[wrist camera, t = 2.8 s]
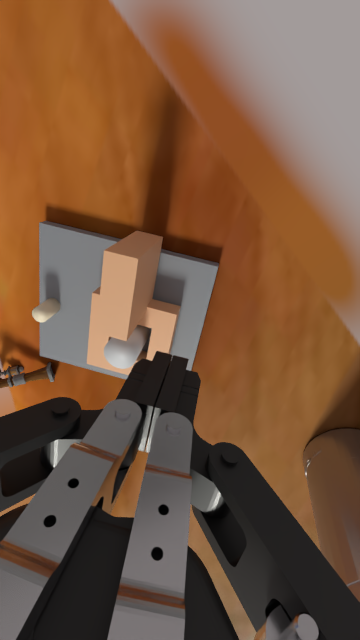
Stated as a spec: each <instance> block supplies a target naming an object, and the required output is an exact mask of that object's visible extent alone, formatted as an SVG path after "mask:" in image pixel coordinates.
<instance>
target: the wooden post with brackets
mask: <svg viewBox="0 0 360 640" xmlns="http://www.w3.org/2000/svg"><path fill="white" fill-rule="evenodd" d="M50 364H51V362H48V365H47V366H46V367H44V368H41V369H39V370H36V371H33V372H30V373H26V374H25V373H22V374H20V372H22V371H23V370H24V368H23V367H19V366H18V365H17V366H14V367H10V366H9V367H8V369H7V370H6V371H5V370H4V372H1V370H0V376H1V374H2V375H3V374H4V375H6V374H8V375H9V377H8V378H6V379H2V378H0V388H3V387H7V386H10V387H13V385H15V386H17V385H20V384H26V382H28V381H34V380H41V379H50V382H52V381H53V382H54V378H55V374H53V371H52V368H51V365H50ZM12 375H14V376H13V377H12Z"/></svg>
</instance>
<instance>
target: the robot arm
mask: <svg viewBox="0 0 360 640" xmlns="http://www.w3.org/2000/svg"><path fill="white" fill-rule="evenodd" d="M171 359H172V360H171ZM188 360H189V359H187V358H183V357H179V356H176V355H173V358H172V354H168V353H164V352H160V351H156V353H155V356H154V358H153V360H152V361H151V360H147V359H143V358H142V359H141V360H139V361H138V362H136V363H135V364H134V366H133V368H132V370H131V372H130V374H129V375H128V378H127V379H126V381H125V383H124V385H123V387H122V389H121V391H120V392H119V394H118V396H117V398H116V400H114V401H111V402H110V403H108V404H107V405H106V406H105V408H104V409H100V410H81V407H80V405H79V403H78V402H77V401H75V400H73V399H71V398H67V397H58V398H54V399H51V400H48V401H45V402H42V403H39V404H36V405H34V406H31V407H28V408H25V409H22V410H19V411H16V412H14V413H11V414H8V415H5V416H2V417H0V512H1V511H3V510H5V509H7V508H9V507H11V506H12V505H14V504H16V503H18V502H20V501H22V500H24V499H26V498H28V497H30V496H32V495H33V494H35V493H36V494H35V496H34V497H33V498H32V500H31V501H30V503H29V504H26V505H23V506H20V507H18V508H16V509H13V510H11V511H9V512H8V513H6V514H4V515H2V516H1V517H0V640H239V638H238V636H237V634H236V632H235V630H234V627H233V625H232V623H231V621H230V619H229V616H228V614H227V612H226V610H225V608H224V606H223V603H222V601H221V599H220V597H219V595H218V592H217V590H216V588H215V586H214V584H213V582H212V579H211V577H210V575H209V573H208V571H207V569H206V567H205V566H204V564H203V562H202V561H201V559H200V558H199V557H198V556H197V554H196V553H195V552H194V551H193V550H192V549H191V548H190V547H189V546H188V533H189V518H190V504H192V510H193V513H194V515H195V517H196V519H197V521H198V523H199V525H200V527H201V528H202V530H203V532H204V534H205V536H206V538H207V540H208V542H209V543H210V545H211V547H212V549H213V551H214V553H215V555H216V557H217V559H218V560H219V562H220V564H221V566H222V568H223V570H224V572H225V574H226V576H227V577H228V579H229V581H230V583H231V585H232V587H233V589H234V591H235V593H236V594H237V596H238V598H239V600H240V602H241V604H242V606H243V608H244V609H245V611H246V613H247V615H248V617H249V619H250V621H251V623H252V625H253V626H254V628H255V630H256V632H257V633H256V635H255V638H254V640H360V430H359V429H337V430H331V431H328V432H325V433H323V434H321V435H319V436H317V437H315V438H314V439H313V440H312V441H311V442H310V443H309V444H308V445H307V447H306V448H305V451H304V453H303V463H304V468H305V476H306V479H307V483H308V488H309V494H310V499H311V504H312V509H313V514H314V519H315V523H316V528H317V533H318V538H319V543H320V548H321V552H320V550H319V549H318V548H317V546H316V545H315V544H314V543H313V541H312V540H311V539H310V537H309V536H308V535H307V533H306V532H305V531H304V530H303V528H302V527H301V526H300V524H299V523H298V522H297V520H296V519H295V518H294V517H293V515H292V514H291V513H290V511H289V510H288V509H287V507H286V506H285V505H284V504H283V502H282V501H281V500H280V498H279V497H278V496H277V494H276V493H275V492H274V491H273V489H272V488H271V487H270V485H269V484H268V483H267V481H266V480H265V479H264V478H263V476H262V475H261V474H260V472H259V471H258V470H257V468H256V467H255V466H254V465H253V463H252V462H251V461H250V459H249V458H248V457H247V455H246V454H245V453H244V452H243V451H242V450H241V449H240V448H239V447H237V446H235V445H233V444H231V443H226V442H221V443H217V444H215V445H211V444H209V443H207V442H206V441H204V440H203V439H202V438H200V437H199V435H198V434H197V433H196V431H195V429H194V426H193V420H194V415H195V409H196V404H197V399H198V393H199V388H200V382H201V380H200V378H199V375H198V373H197V372H193V371H189V370H186V368H187V364H188ZM147 441H148V443H147ZM146 444H147V448H146V452H148V453H149V454H148V459H147V463H146V467H145V472H144V476H143V481H142V485H141V490H140V494H139V499H138V503H137V508H136V512H135V517H134V518H127V517H114V516H111V512H112V510H113V507H114V505H115V503H116V501H117V498H118V496H119V494H120V492H121V490H122V488H123V485H124V483H125V481H126V479H127V477H128V474H129V472H130V470H131V468H132V464H133V461H134V460H135V457H136V454H137V452H138V450H140V451H144V450H145V447H146Z"/></svg>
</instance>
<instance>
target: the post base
mask: <svg viewBox="0 0 360 640" xmlns="http://www.w3.org/2000/svg"><path fill="white" fill-rule="evenodd" d="M120 240H122V239H119V238H114V237H110V236H106V235H102V234H98V233H94V232H90V231H86V230H82V229H78V228H74V227H70V226H66V225H62V224H58V223H53V222H49V221H44V222H40V223H39V247H40V305H39V306H37V307H36V308H34V309H33V311H32V315H33V317H34V319H35V320H36V321H38V322H40V356H43V357H47V358H50V359H54V360H57V361H61V362H65V363H68V364H72V365H76V366H79V367H83V368H86V369H90V370H94V371H97V372H101V373H104V374H108V375H112V376H115V377H119V378H122V379H127V378H128V375H125V374H122V373H118V372H115V371H111V370H107V369H104V368H100V367H96V366H93V365H89V364H87V353H88V340H89V327H90V314H91V301H92V293H93V292H94V291H95V290H96V289H97V288H99V287H100V286H101V278H102V267H103V255H104V250H105V249H107V248H109V247H110V246H112V245H114V244H115V243H117V242H119V241H120ZM218 266H219V263H216V262H212V261H208V260H204V259H200V258H196V257H192V256H188V255H184V254H180V253H175V252H171V251H167V250H163V249H161V252H160V258H159V264H158V269H157V275H156V281H155V287H154V293H153V298H152V299H155V300H159V301H162V302H166V303H170V304H174V305H178V306H181V307H180V312H179V316H178V321H177V325H176V330H175V334H174V339H173V343H172V348H171V353H170V354H172V358H173V355H176V356H179V357H183V358H187V359H189V360H188V364H187V368H186V370H189V371H191V369H192V365H193V361H194V357H195V354H196V350H197V346H198V342H199V338H200V335H201V331H202V327H203V323H204V319H205V316H206V312H207V308H208V304H209V300H210V297H211V293H212V289H213V285H214V281H215V278H216V274H217V270H218ZM151 331H152V328H149V327H145V326H141V325H137V326H136V328H135V329H134V331H133V332H132V334H131V335H130V337H129V338H128V340H127V341H124V340H120V339H117V338H113V337H111V339H110V340H109V341H108V343H107V344H106V345H105V347H104V356H105V358H106V360H107V361H108V362H109V363H110V364H111V365H112V366H114V367H116V368H120V369H126V368H129V367H131V366H132V365H133V364H134V363H135V361H136V359H137V357H138V356H139V354H140V352H141V350H142V351H146V352H148V347H149V342H150V336H151ZM171 360H172V359H171Z"/></svg>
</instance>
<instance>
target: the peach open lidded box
mask: <svg viewBox="0 0 360 640" xmlns="http://www.w3.org/2000/svg"><path fill="white" fill-rule="evenodd" d="M162 241H163V237H161V236H157V235H153V234H149V233H145V232H141V231H135V232H133V233H132V234H130V235H129V236H127V237H125V238H124V239H122V240H120V241H119V242H117V243H115V244H114V245H112V246H110V247H109V248H107V249H105V250H104V255H103V267H102V278H101V286H100V287H99V288H97V289H96V290H95V291H94V292H93V293H92V301H91V314H90V327H89V340H88V353H87V364H89V365H93V366H96V367H100V368H104V369H107V370H111V371H115V372H118V373H122V374H125V375H129V374H130V372H131V370H132V368H133V366H134V364H135V363H136V362H138V361H139V360H141V359H142V358H143V359H147V360H151V361H152V360H153V358H154V356H155V353H156V351H160V352H164V353H168V354H170V353H171V348H172V343H173V339H174V334H175V330H176V325H177V321H178V316H179V312H180V307H181V306H178V305H174V304H170V303H166V302H162V301H159V300H155V299H152V298H153V293H154V287H155V281H156V275H157V269H158V264H159V258H160V252H161V246H162ZM137 325H141V326H145V327H149V328H152V331H151V336H150V342H149V347H148V352H146V351H142V350H141V352H140V354H139V356H138V357H137V359H136V361H135V363H134V364H133V365H132V366H131V367H129V368H126V369H120V368H116V367H114V366H112V365H111V364H110V363H109V362H108V361H107V360H106V358H105V356H104V347H105V345H106V344H107V343H108V341H109V340H110V339H111V337H113V338H117V339H120V340H124V341H127V340H128V338H129V337H130V335H131V334H132V332H133V331H134V329H135V328H136V326H137Z"/></svg>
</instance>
